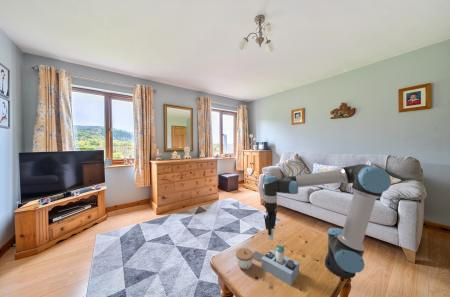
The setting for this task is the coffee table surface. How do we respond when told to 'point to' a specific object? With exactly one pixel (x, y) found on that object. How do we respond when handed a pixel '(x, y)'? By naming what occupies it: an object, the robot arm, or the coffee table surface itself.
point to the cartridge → (280, 255)
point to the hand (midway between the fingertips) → (270, 239)
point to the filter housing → (280, 268)
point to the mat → (257, 256)
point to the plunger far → (269, 255)
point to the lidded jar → (244, 257)
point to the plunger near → (291, 265)
